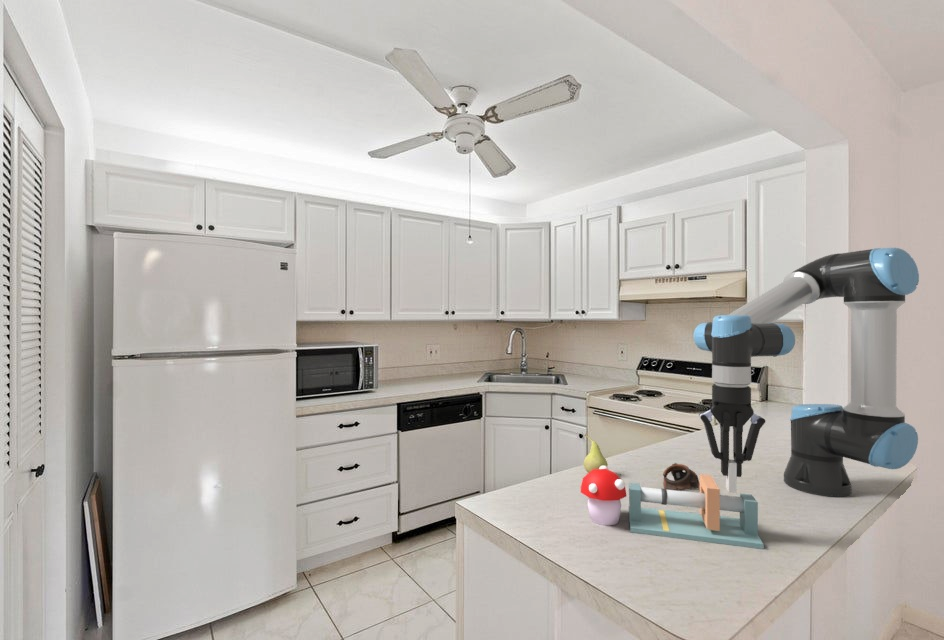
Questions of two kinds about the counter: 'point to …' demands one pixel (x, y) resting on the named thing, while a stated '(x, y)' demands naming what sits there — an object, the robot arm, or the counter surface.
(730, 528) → the pipe rig
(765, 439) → the counter surface
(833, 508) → the counter surface
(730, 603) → the counter surface
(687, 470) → the pottery mug
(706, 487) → the peach rectangular collar
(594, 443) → the fruit
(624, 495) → the mushroom
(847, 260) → the robot arm
